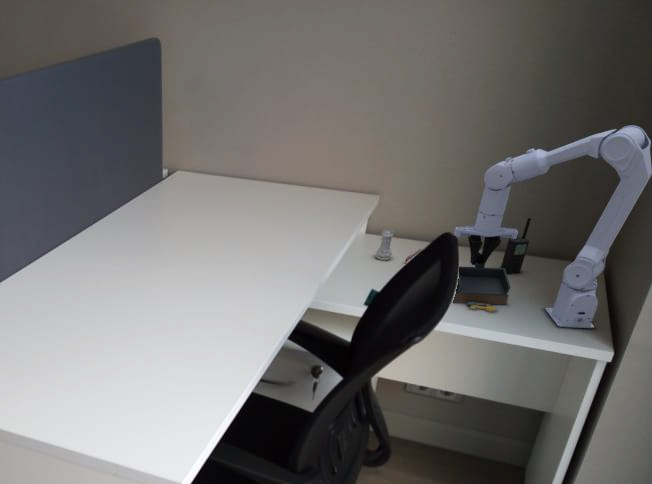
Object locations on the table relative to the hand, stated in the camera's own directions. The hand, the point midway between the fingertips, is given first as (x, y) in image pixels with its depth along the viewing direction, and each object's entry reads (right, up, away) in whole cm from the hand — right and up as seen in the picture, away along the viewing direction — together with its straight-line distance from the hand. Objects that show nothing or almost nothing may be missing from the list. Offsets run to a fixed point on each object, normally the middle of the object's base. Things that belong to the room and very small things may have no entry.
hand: (477, 263), depth 186 cm
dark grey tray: (0, -4, -1) cm, 4 cm away
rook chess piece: (-16, +6, +23) cm, 29 cm away
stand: (-1, -9, 0) cm, 9 cm away
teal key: (-2, -11, -4) cm, 12 cm away
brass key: (-1, -12, -6) cm, 13 cm away
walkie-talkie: (+16, 0, +14) cm, 21 cm away
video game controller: (-9, +1, +15) cm, 18 cm away
